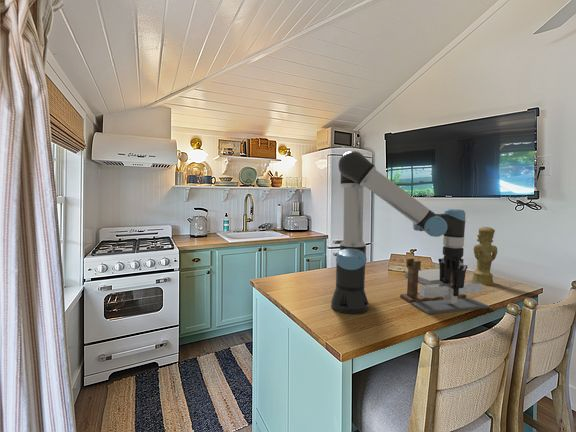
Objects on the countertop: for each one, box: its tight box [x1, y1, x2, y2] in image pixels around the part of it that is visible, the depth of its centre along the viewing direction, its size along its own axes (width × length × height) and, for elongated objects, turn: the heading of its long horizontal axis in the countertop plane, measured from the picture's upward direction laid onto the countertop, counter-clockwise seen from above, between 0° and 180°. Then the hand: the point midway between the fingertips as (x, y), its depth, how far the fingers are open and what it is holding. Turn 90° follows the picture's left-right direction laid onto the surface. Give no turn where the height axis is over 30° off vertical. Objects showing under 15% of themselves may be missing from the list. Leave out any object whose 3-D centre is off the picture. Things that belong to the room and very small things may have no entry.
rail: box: [418, 281, 483, 297], centre depth 122 cm, size 28×3×4 cm, turn 103°
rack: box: [399, 258, 467, 304], centre depth 131 cm, size 29×7×18 cm, turn 103°
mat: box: [410, 297, 491, 315], centre depth 122 cm, size 30×10×1 cm, turn 103°
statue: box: [470, 226, 498, 286], centre depth 155 cm, size 11×10×30 cm
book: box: [404, 268, 443, 285], centre depth 160 cm, size 18×4×24 cm
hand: (450, 301), depth 122 cm, fingers closed on rail, 3 cm apart
